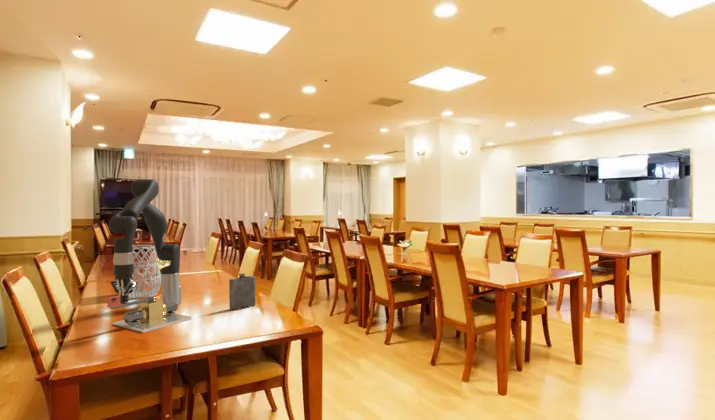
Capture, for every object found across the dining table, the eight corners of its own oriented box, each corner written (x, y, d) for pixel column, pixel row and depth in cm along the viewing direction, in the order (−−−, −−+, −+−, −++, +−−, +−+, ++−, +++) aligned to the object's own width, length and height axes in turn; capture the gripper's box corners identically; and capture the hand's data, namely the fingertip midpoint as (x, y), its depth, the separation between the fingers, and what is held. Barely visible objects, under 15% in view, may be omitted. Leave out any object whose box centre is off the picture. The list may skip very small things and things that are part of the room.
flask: (228, 308, 219) (227, 274, 219) (253, 304, 228) (253, 271, 228) (230, 310, 216) (230, 275, 216) (256, 305, 225) (256, 272, 225)
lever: (152, 299, 198) (152, 288, 198) (157, 300, 196) (157, 289, 196) (107, 309, 179) (107, 297, 179) (112, 310, 177) (111, 298, 177)
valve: (162, 313, 211) (161, 294, 211) (191, 319, 199) (191, 299, 199) (113, 324, 190) (113, 303, 190) (143, 332, 178) (142, 310, 178)
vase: (127, 291, 265) (126, 244, 264) (166, 290, 267) (166, 243, 267) (108, 300, 241) (107, 248, 240) (152, 299, 243) (151, 247, 243)
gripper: (142, 262, 179) (143, 302, 179) (119, 261, 184) (120, 300, 184) (127, 264, 172) (128, 306, 172) (104, 263, 177) (104, 304, 177)
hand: (124, 303), depth 178 cm, fingers closed
